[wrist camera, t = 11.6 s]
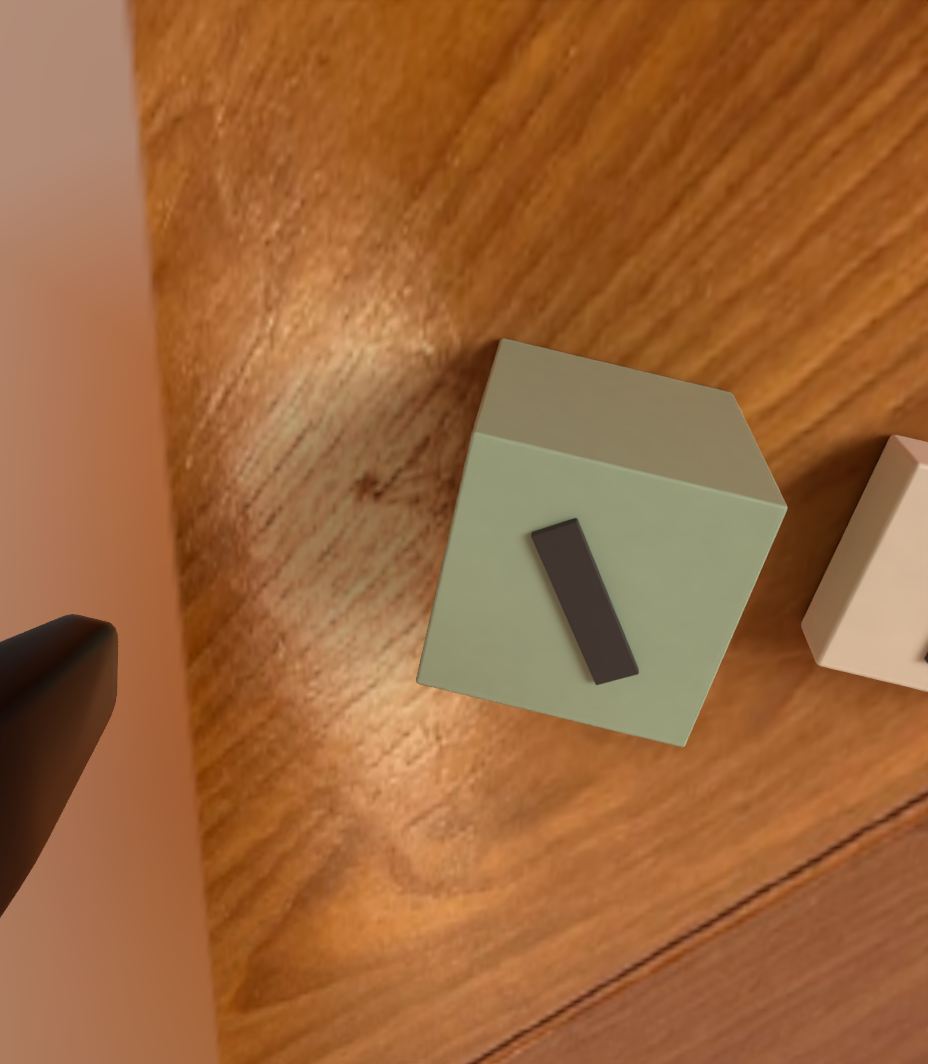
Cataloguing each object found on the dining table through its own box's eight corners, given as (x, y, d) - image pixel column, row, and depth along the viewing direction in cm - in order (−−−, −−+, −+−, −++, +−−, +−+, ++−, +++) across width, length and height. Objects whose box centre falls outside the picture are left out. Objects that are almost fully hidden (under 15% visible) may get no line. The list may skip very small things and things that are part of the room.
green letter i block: (454, 540, 19) (413, 689, 14) (500, 337, 17) (470, 434, 12) (659, 589, 19) (685, 754, 14) (733, 392, 16) (791, 511, 12)
